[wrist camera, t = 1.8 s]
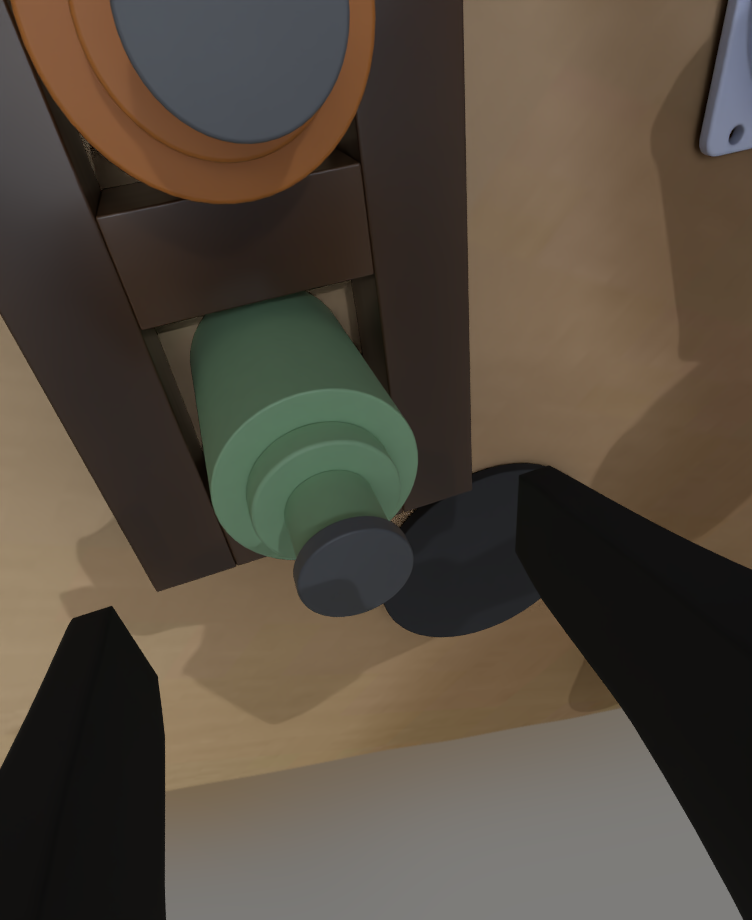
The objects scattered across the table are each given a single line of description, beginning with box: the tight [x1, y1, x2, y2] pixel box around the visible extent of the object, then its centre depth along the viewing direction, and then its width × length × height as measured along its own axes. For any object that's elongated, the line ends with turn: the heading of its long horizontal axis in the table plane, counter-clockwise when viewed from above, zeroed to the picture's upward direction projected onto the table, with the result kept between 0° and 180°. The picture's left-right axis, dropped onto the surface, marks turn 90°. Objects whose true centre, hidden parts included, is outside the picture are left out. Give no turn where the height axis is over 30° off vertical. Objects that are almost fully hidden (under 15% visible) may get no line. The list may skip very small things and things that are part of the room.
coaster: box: [384, 463, 546, 637], centre depth 26 cm, size 10×10×1 cm
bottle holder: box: [0, 0, 472, 592], centre depth 14 cm, size 11×19×3 cm, turn 7°
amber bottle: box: [10, 0, 376, 204], centre depth 9 cm, size 5×5×9 cm
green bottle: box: [190, 291, 418, 617], centre depth 14 cm, size 5×5×9 cm
